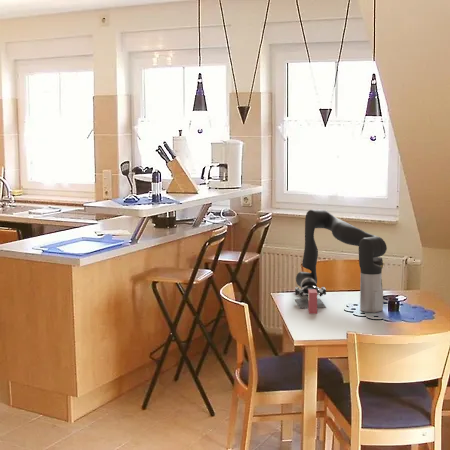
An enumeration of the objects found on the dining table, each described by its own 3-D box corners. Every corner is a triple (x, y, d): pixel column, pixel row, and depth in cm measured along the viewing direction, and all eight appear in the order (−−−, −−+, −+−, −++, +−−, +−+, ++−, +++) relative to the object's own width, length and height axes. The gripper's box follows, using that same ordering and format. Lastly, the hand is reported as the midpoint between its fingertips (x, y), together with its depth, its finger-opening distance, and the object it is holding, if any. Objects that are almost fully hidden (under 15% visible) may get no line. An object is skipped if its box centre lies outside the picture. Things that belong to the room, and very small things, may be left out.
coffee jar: (360, 294, 374) (361, 257, 371) (364, 291, 381) (365, 254, 378) (380, 296, 370) (380, 258, 367) (384, 293, 377) (384, 256, 374)
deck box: (308, 309, 347) (308, 289, 346) (316, 309, 347) (316, 289, 345) (309, 313, 341) (309, 292, 339) (317, 313, 340) (317, 292, 339)
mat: (295, 300, 365) (295, 299, 365) (320, 299, 366) (320, 298, 366) (300, 308, 349) (300, 307, 349) (326, 307, 350) (326, 306, 350)
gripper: (294, 279, 366) (295, 286, 350) (323, 278, 366) (327, 286, 350) (294, 294, 367) (295, 302, 351) (323, 294, 367) (326, 302, 351)
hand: (311, 294), depth 351 cm, fingers open, 8 cm apart
